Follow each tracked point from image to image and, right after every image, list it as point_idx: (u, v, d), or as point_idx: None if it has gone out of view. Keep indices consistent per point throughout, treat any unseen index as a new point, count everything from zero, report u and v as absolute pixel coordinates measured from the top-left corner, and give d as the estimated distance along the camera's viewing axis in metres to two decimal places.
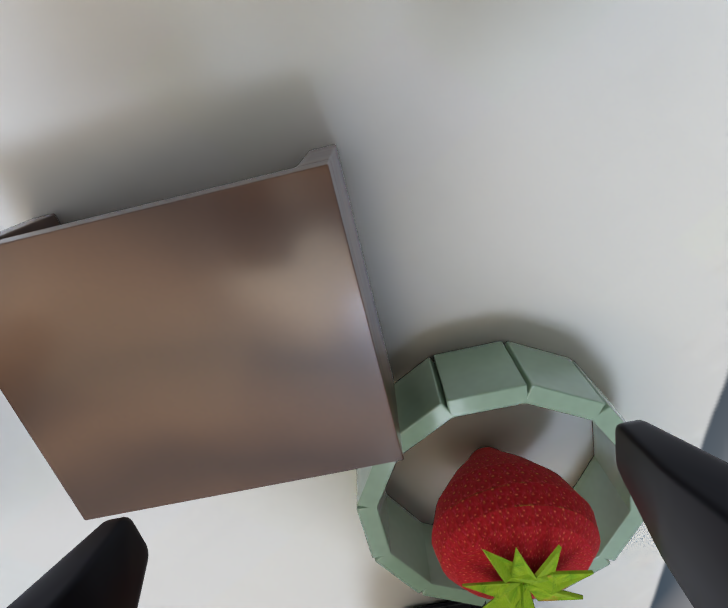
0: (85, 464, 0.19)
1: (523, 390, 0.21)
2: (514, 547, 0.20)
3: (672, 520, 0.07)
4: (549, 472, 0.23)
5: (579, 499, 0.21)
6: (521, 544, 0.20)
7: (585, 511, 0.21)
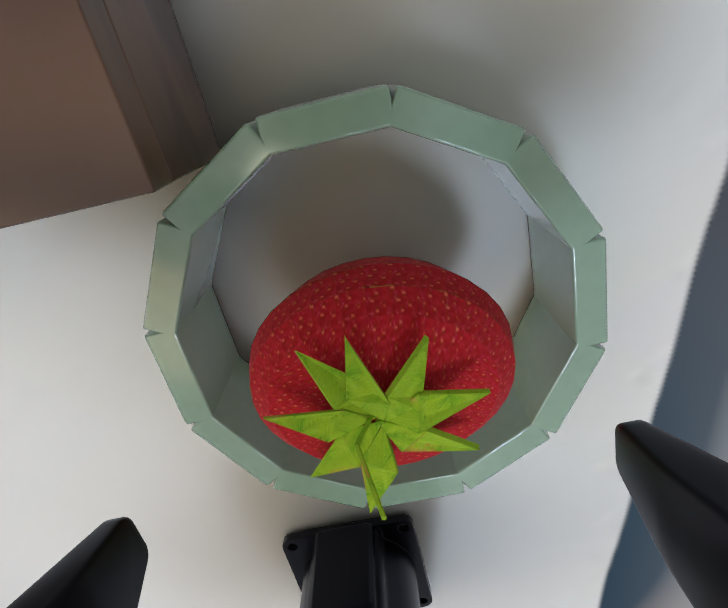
0: None
1: (383, 96, 0.12)
2: (355, 353, 0.11)
3: (672, 520, 0.07)
4: (442, 268, 0.14)
5: (482, 293, 0.13)
6: (368, 347, 0.11)
7: (488, 307, 0.12)
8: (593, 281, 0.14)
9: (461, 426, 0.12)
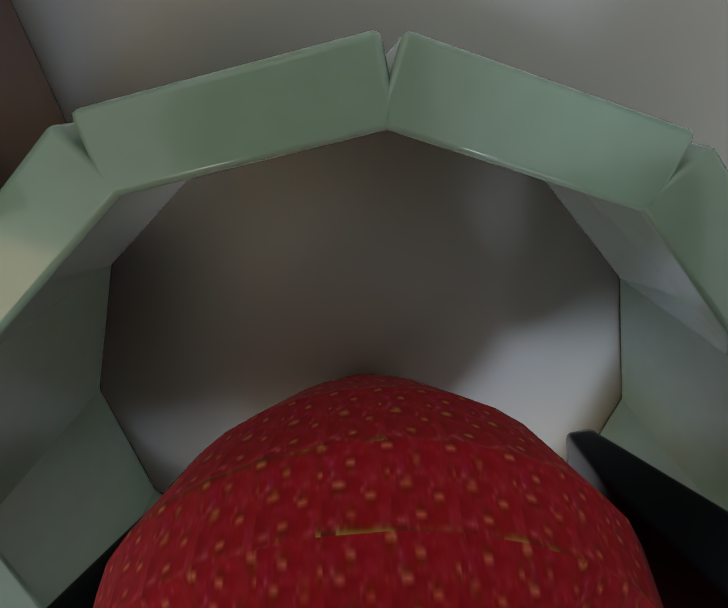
0: None
1: (368, 59, 0.05)
2: None
3: None
4: (494, 415, 0.07)
5: (596, 502, 0.06)
6: None
7: (619, 551, 0.05)
8: None
9: None
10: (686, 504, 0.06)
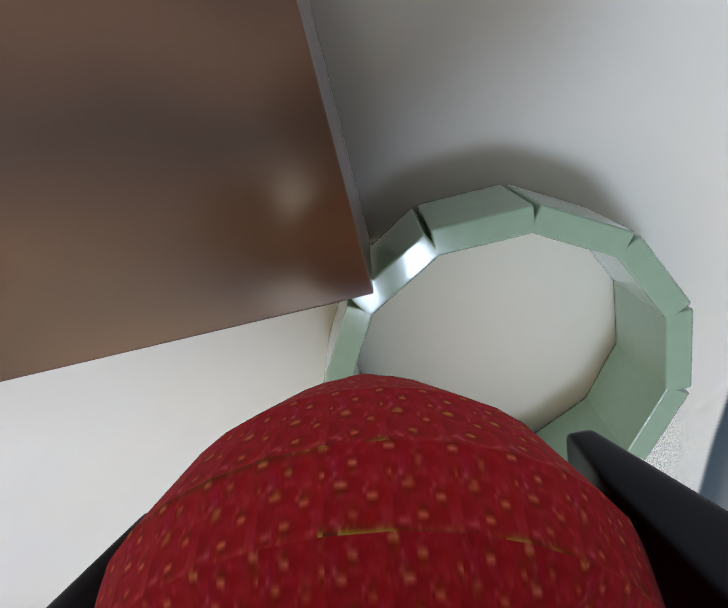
0: None
1: (529, 213, 0.16)
2: None
3: None
4: (495, 415, 0.07)
5: (598, 502, 0.06)
6: None
7: (621, 551, 0.05)
8: (681, 341, 0.18)
9: None
10: (686, 504, 0.06)
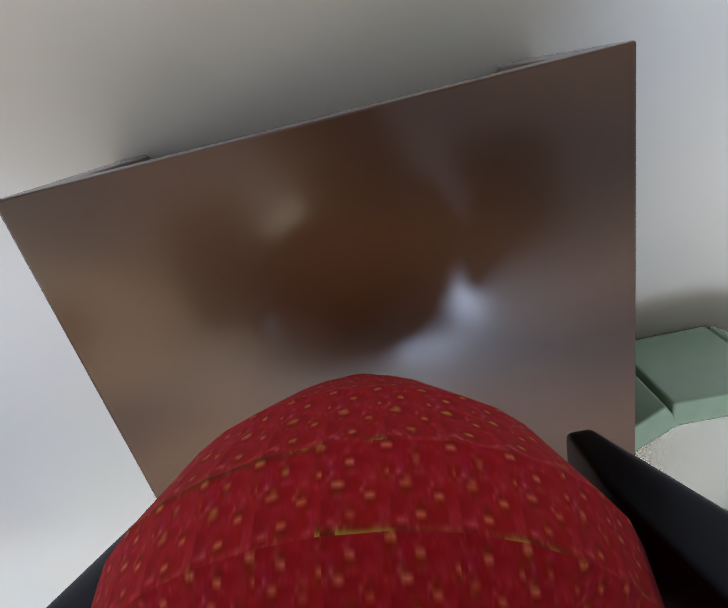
0: None
1: None
2: None
3: None
4: (494, 414, 0.07)
5: (598, 502, 0.06)
6: None
7: (620, 551, 0.05)
8: None
9: None
10: (686, 504, 0.06)
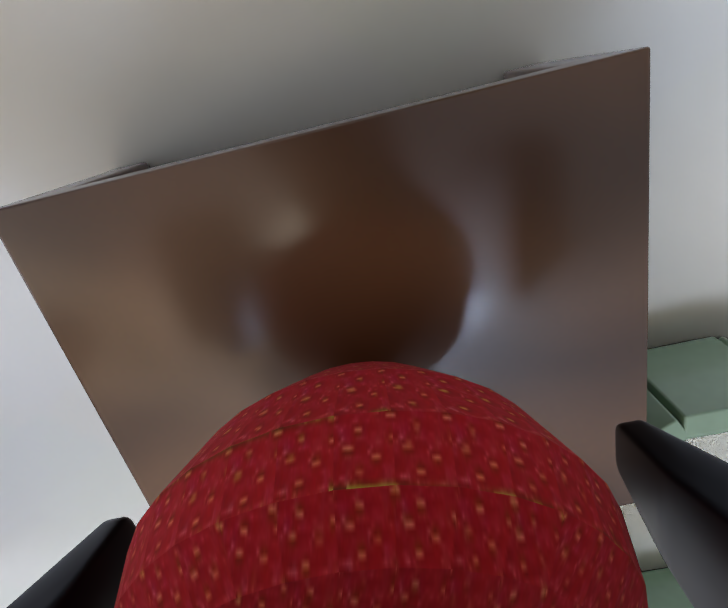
0: None
1: None
2: None
3: (672, 520, 0.07)
4: (487, 393, 0.08)
5: (578, 467, 0.06)
6: None
7: (596, 507, 0.06)
8: None
9: None
10: None
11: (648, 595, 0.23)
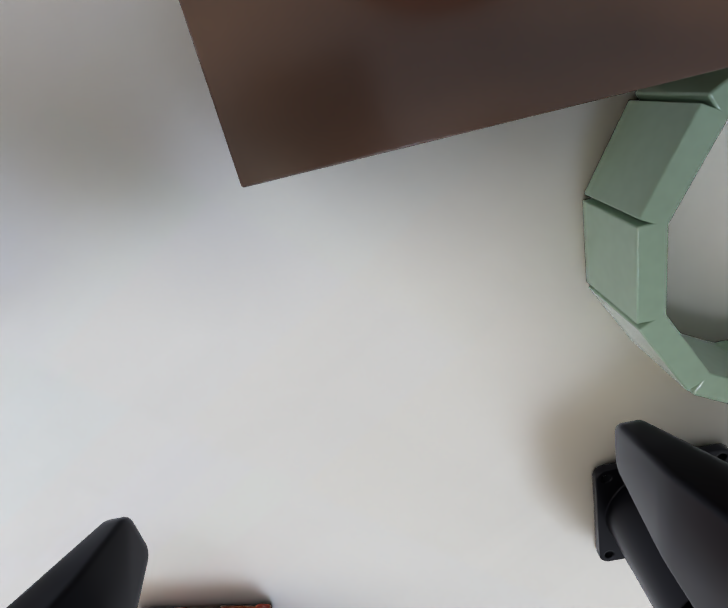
0: (260, 52, 0.11)
1: None
2: None
3: (672, 520, 0.07)
4: None
5: None
6: None
7: None
8: None
9: None
10: None
11: None
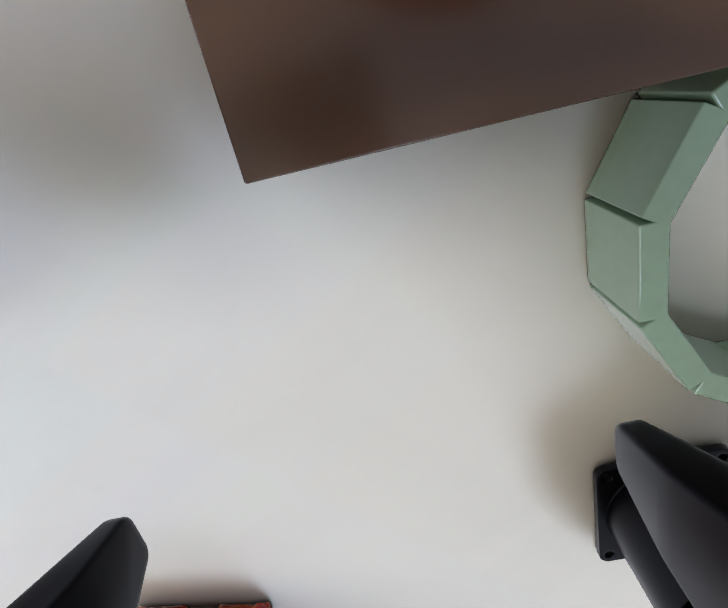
0: (264, 48, 0.11)
1: None
2: None
3: (672, 520, 0.07)
4: None
5: None
6: None
7: None
8: None
9: None
10: None
11: None
